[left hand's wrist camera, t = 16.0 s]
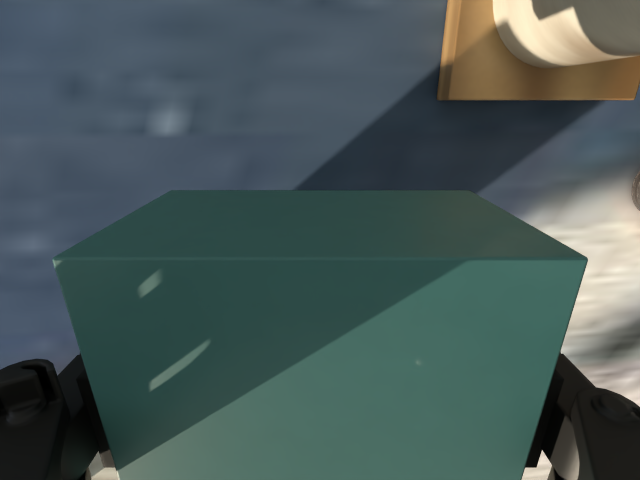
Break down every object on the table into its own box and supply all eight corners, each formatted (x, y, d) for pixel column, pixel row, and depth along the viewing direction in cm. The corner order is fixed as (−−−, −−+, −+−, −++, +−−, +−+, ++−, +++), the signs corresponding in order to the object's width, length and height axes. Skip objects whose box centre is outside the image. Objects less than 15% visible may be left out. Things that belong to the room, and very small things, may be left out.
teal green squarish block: (205, 415, 14) (146, 575, 9) (170, 190, 10) (49, 257, 6) (434, 415, 14) (493, 574, 9) (469, 189, 10) (589, 257, 6)
